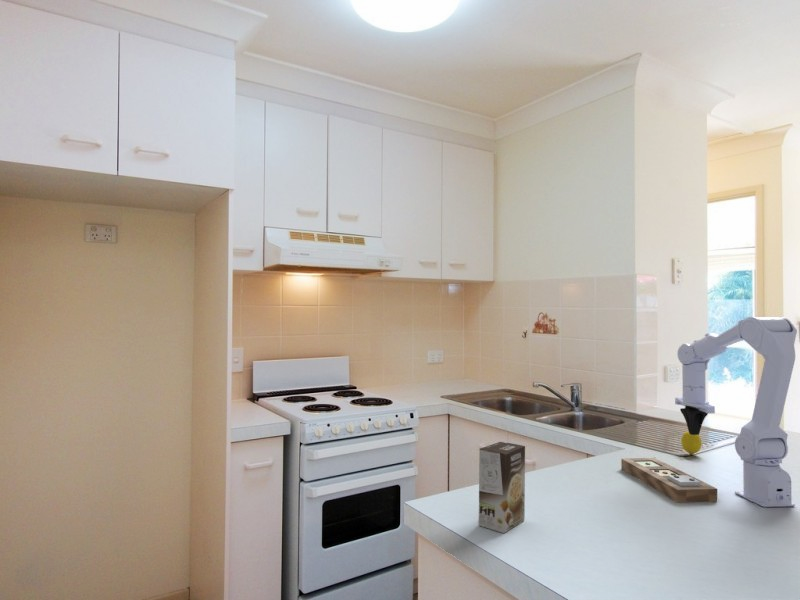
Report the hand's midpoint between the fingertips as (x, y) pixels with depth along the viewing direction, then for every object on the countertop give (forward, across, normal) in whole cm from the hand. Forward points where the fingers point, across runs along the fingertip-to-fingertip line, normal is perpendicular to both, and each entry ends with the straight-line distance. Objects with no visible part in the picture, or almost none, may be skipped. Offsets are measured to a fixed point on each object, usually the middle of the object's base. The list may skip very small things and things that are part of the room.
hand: (694, 434), depth 147 cm
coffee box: (+11, -32, +65) cm, 73 cm away
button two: (+9, -18, +15) cm, 25 cm away
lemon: (+11, +16, -10) cm, 22 cm away
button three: (+10, -10, +15) cm, 21 cm away
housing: (+10, -10, +15) cm, 21 cm away
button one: (+10, -2, +15) cm, 18 cm away
